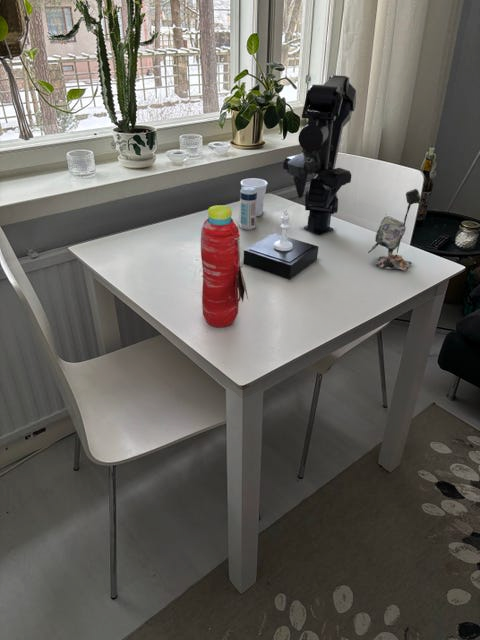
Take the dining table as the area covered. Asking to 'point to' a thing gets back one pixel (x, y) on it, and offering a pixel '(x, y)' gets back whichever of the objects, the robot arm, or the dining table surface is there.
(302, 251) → the stand
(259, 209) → the dixie cup
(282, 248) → the chess piece
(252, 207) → the white supplement bottle
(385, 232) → the grey mottled stone figure
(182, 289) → the dining table surface
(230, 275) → the water bottle
